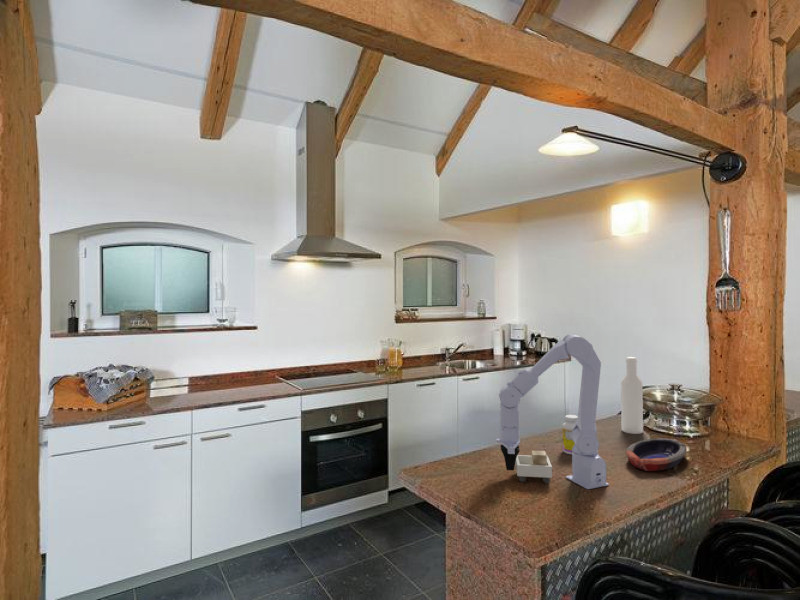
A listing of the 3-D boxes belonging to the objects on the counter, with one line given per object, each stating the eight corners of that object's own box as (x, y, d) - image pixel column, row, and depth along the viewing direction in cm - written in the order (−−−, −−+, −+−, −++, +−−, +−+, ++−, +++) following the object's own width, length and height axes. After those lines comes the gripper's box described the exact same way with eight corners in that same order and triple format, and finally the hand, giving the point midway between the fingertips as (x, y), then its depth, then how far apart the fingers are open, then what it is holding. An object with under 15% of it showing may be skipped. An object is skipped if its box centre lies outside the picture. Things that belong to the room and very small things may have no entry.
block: (545, 467, 145) (544, 451, 145) (546, 472, 141) (546, 455, 141) (531, 466, 146) (531, 450, 146) (533, 471, 142) (533, 454, 142)
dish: (698, 456, 161) (697, 442, 161) (661, 480, 141) (661, 464, 141) (650, 446, 173) (650, 432, 173) (610, 466, 153) (610, 451, 153)
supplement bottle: (566, 448, 172) (566, 413, 172) (585, 451, 167) (584, 415, 167) (560, 453, 167) (559, 416, 166) (578, 456, 162) (578, 419, 162)
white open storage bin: (548, 473, 148) (547, 456, 148) (552, 484, 139) (551, 466, 139) (515, 471, 149) (515, 454, 149) (517, 482, 141) (517, 465, 141)
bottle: (647, 433, 187) (646, 358, 187) (629, 434, 186) (628, 359, 186) (634, 427, 195) (634, 355, 195) (617, 429, 194) (616, 356, 194)
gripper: (495, 419, 153) (496, 460, 153) (497, 432, 139) (497, 477, 139) (518, 419, 152) (518, 461, 152) (521, 433, 137) (522, 479, 138)
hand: (510, 469), depth 145 cm, fingers closed, pressing on white open storage bin
